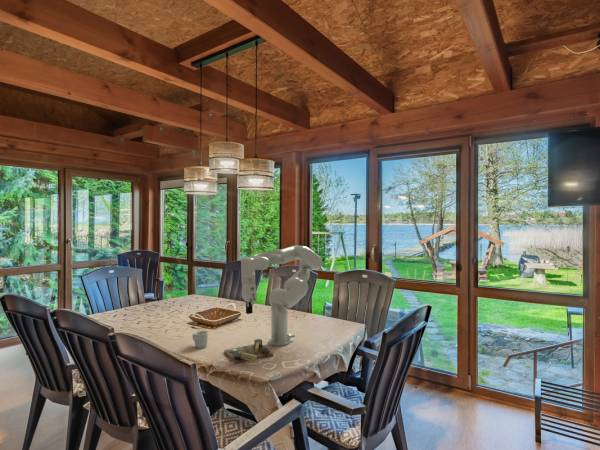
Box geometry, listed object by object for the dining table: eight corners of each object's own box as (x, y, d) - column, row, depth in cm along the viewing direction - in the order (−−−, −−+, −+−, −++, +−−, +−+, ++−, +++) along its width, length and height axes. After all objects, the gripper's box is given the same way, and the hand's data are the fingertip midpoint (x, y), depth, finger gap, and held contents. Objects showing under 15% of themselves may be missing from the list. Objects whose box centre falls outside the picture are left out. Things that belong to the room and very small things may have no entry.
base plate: (259, 345, 202) (259, 339, 202) (273, 355, 187) (273, 349, 186) (224, 352, 191) (224, 346, 191) (235, 364, 176) (235, 357, 176)
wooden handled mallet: (231, 358, 179) (231, 352, 179) (237, 355, 183) (237, 349, 183) (253, 363, 173) (253, 357, 173) (258, 360, 176) (258, 354, 176)
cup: (187, 346, 201) (187, 332, 201) (198, 342, 208) (198, 328, 207) (200, 350, 195) (200, 336, 195) (211, 346, 202) (211, 332, 201)
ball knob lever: (254, 344, 198) (254, 339, 198) (262, 344, 199) (262, 339, 198) (252, 353, 185) (252, 347, 185) (260, 353, 185) (260, 347, 185)
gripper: (260, 281, 189) (261, 315, 190) (248, 277, 202) (249, 309, 202) (247, 283, 185) (248, 317, 186) (236, 279, 198) (237, 311, 198)
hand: (249, 313), depth 194 cm, fingers closed
